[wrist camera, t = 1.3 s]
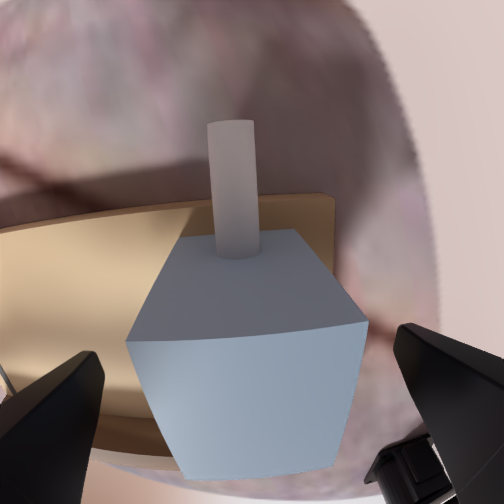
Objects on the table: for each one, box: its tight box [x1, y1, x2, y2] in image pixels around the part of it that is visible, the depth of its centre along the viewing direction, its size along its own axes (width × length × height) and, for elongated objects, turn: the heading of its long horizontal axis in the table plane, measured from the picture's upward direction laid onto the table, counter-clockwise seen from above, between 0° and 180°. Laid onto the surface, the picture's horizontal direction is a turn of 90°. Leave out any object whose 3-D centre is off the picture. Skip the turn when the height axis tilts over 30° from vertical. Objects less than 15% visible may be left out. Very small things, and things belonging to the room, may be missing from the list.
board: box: [0, 193, 335, 471], centre depth 11 cm, size 12×20×4 cm, turn 93°
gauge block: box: [125, 120, 369, 480], centre depth 7 cm, size 8×4×6 cm, turn 3°
